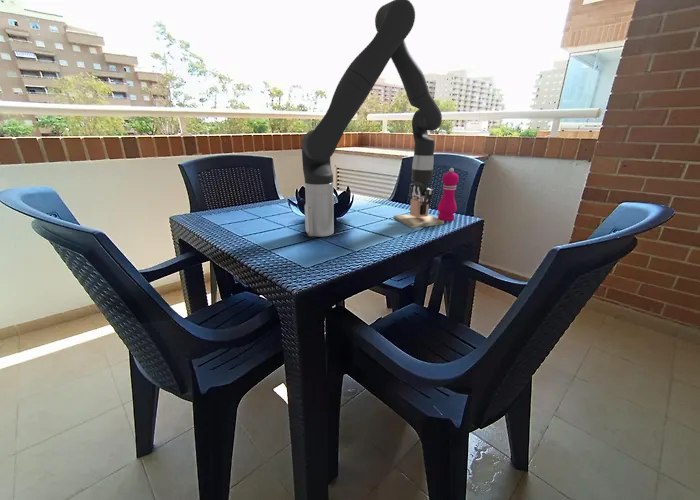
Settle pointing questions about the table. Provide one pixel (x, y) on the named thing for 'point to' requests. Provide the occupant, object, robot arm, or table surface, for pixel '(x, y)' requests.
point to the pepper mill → (448, 196)
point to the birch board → (418, 220)
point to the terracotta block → (417, 208)
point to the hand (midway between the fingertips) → (418, 212)
